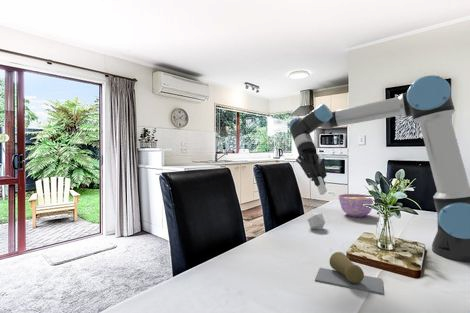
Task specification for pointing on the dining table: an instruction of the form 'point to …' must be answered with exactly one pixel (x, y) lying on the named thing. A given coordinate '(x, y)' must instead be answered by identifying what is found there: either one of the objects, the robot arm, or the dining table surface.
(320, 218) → the die
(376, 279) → the mat
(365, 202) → the purple ceramic bowl
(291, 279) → the dining table surface
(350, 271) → the olive waisted cylinder
